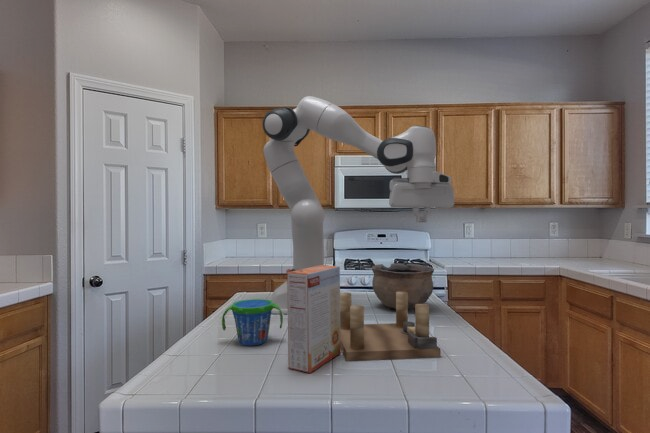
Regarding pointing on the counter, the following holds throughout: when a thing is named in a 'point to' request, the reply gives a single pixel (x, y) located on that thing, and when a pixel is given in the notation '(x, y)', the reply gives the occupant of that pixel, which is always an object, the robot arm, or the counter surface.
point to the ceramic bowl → (402, 283)
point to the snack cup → (252, 320)
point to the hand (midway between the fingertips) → (421, 222)
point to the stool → (381, 335)
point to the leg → (419, 321)
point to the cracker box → (313, 317)
